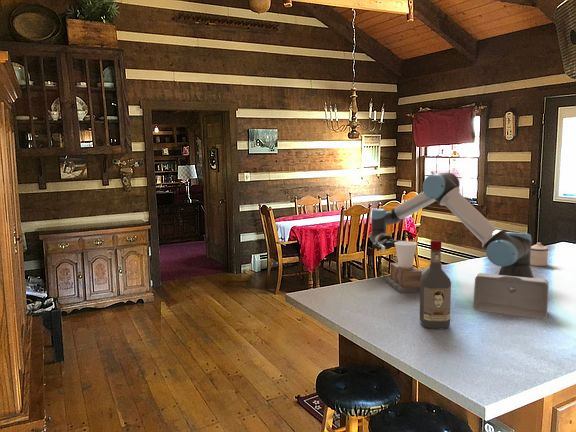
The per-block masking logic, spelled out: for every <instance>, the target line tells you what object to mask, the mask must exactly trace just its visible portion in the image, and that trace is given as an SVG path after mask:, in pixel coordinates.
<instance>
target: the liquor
mask: <svg viewBox="0 0 576 432" xmlns="http://www.w3.org/2000/svg"><path fill="white" fill-rule="evenodd" d="M429 247H430V249H429V250H430V264H429V268H427V269H426V270H425V271H424V272H423V273H422V276H421V278H420V291H419V321H420V323H421V325H422V326H423V327H424V328H426V329H428V330H429V329H430V330H440V329H441V330H445V329H447V328H449V327H450V325H451V294H452V293H451V292H452V281H451V278H450V277H449V276H448V274H447V273H446V271H444V270H443V269H442V262H441V261H442V260H441V259H442V256H441V255H442V240H440V239H430V246H429Z"/></svg>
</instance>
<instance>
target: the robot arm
mask: <svg viewBox="0 0 576 432" xmlns="http://www.w3.org/2000/svg"><path fill="white" fill-rule="evenodd" d="M434 202H436V203H438V205H440V206H445V207H446V208H447V209H448V210H449V211H450V212H451V213H452V214H453V215H454V216H455V217H456V218H457V219H458V220H459V221H460V222H461V223H462V224H463V225H464V226H465V227H466V228H467V229H468V230H469V231H470V232H471V233H472V234H473V235H474V236H475V237H476V238H477V239H478V240H479V241H480V242H481V246H482V249H483V250H484V252H485V253H486V257H487V259H488V260H489V262H490V263H492V264H493V265H495V266H498V267H500V269H499V272H498V274H497V275H506V276H516V277H527V278H535V277H534V275H533V271H532V267H531V265H530V260H531V246H532V243H533V241H532V235H531V234H530V233H524V232H512V231H504V229H497V227H495V226H494V225H493V224H492V222H490V221H489V220H488V219H487V218H486V217H485V215H483V214H482V213H481V212H480V211H479V210H478V209H476V207H475V206H474V205H473V204H471V202H469V201H468V200H467V199H466V198H465V197H464V196H463V195H462V194H461V193H460V180H459V178H458V176H457V175H456V174H454V173H451V172H441V173H440V172H437V173H435V172H434V173H431V174H429V175H428V176H426V177H425V179H424V181H423V184H422V191H421V192H420V193H417V194H415V195H414V196H413V197H411V198H409V199H407V200H405V201H404V202H402V203H400V204H398V205H397V206H395V207H394V208H392V209H389V210H386V209H385V208H373V209H372V210H371V216H370V217H371V232H370V234H369V239H370V241H371V243H372V250H376V251H377V252H379V251H381V252H382V253H386V250H390V249H392V248H395V249H396V247H395V244H394V243H395V242H399V241H403V240H401V239H398V240H396V239H393V237H391V235H389V234H388V233H387V226H391V225H396V224H398V223H400V222H401V221H402V220H403V219H404V218H405V219H406V218H407V217H409V216H411V215H413V214H414V213H417V212H418V211H420V210H421V209H424V208H425V207H428V206H430V205H431V204H433V203H434Z"/></svg>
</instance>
